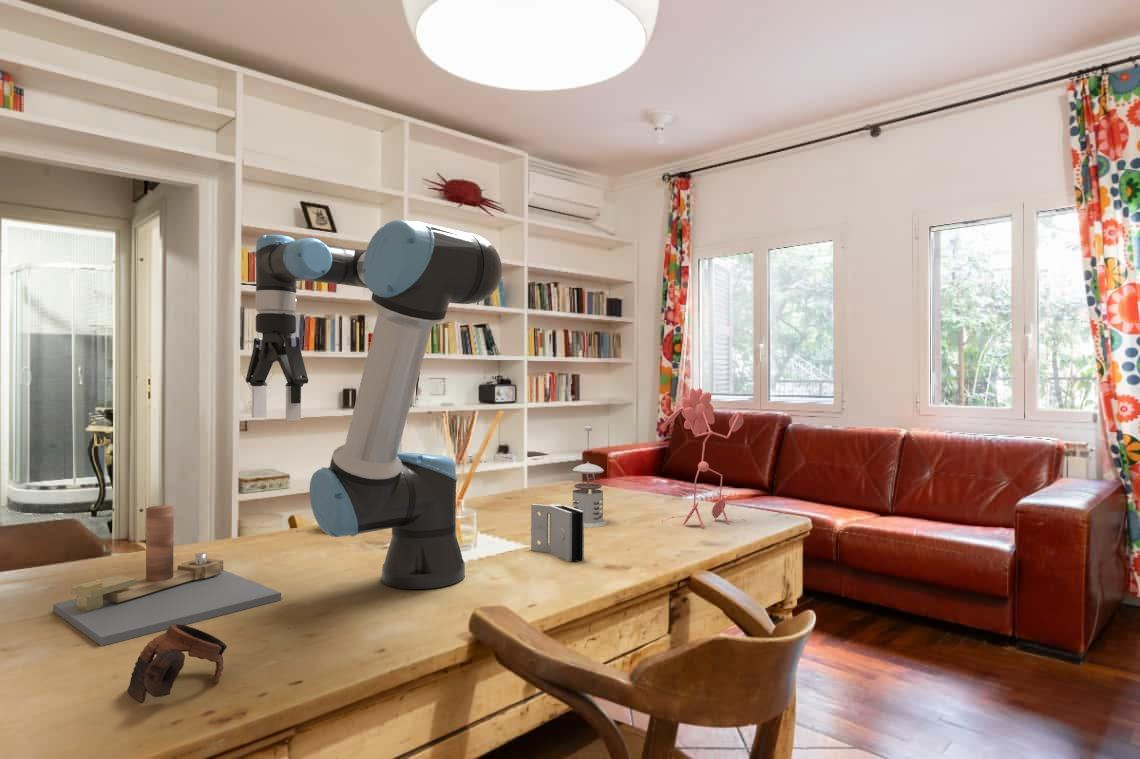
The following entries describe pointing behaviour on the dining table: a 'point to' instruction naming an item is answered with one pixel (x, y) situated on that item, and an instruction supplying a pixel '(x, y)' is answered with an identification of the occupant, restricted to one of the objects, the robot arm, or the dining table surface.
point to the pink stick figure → (697, 420)
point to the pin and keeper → (110, 587)
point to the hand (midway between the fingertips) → (275, 419)
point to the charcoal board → (167, 607)
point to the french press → (589, 501)
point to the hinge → (558, 531)
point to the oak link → (163, 559)
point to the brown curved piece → (172, 660)
